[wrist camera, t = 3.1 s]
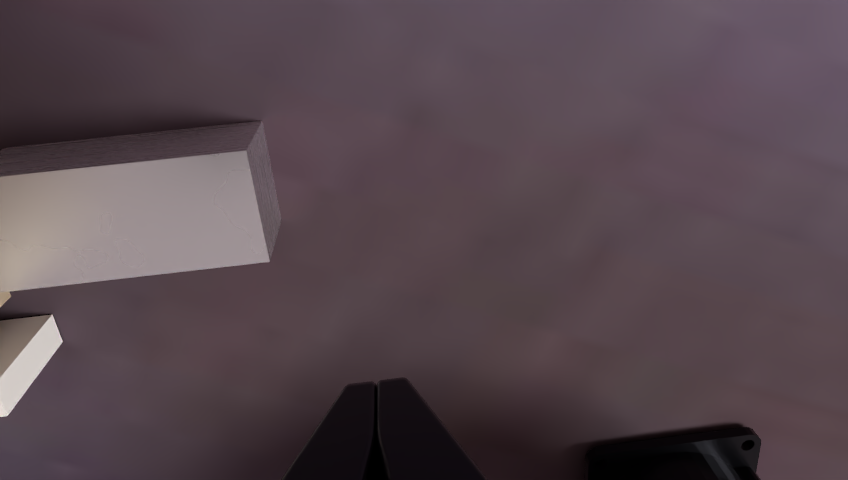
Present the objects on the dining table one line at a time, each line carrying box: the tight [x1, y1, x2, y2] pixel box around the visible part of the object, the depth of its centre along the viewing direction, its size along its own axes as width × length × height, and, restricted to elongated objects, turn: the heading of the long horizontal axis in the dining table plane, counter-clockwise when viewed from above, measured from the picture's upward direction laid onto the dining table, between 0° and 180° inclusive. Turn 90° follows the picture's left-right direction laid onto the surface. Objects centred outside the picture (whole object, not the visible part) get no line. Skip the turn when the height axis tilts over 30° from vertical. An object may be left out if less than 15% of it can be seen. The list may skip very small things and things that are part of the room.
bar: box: [0, 121, 282, 292], centre depth 17 cm, size 7×3×3 cm, turn 95°
